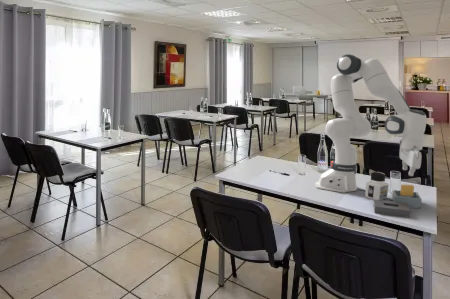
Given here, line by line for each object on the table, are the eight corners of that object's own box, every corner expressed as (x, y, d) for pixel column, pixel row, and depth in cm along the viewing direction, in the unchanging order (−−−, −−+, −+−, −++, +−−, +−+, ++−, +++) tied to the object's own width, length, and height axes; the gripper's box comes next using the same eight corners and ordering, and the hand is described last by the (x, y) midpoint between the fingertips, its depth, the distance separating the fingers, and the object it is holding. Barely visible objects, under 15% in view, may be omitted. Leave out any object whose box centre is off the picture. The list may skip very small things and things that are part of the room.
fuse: (401, 201, 163) (403, 186, 162) (399, 200, 166) (401, 184, 164) (412, 202, 163) (414, 186, 161) (410, 200, 165) (411, 184, 164)
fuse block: (374, 212, 152) (375, 206, 152) (373, 205, 161) (373, 199, 161) (409, 217, 147) (410, 210, 147) (406, 209, 157) (406, 203, 156)
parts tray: (394, 205, 161) (395, 196, 160) (391, 198, 171) (392, 189, 171) (420, 208, 158) (421, 199, 157) (416, 200, 168) (417, 192, 167)
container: (379, 201, 167) (381, 175, 165) (364, 196, 173) (367, 172, 171) (387, 198, 172) (389, 173, 169) (373, 194, 178) (375, 170, 175)
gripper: (427, 150, 148) (422, 179, 152) (412, 140, 168) (408, 167, 171) (411, 149, 150) (407, 178, 153) (398, 139, 169) (394, 166, 172)
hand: (407, 172), depth 162 cm, fingers open, 8 cm apart
